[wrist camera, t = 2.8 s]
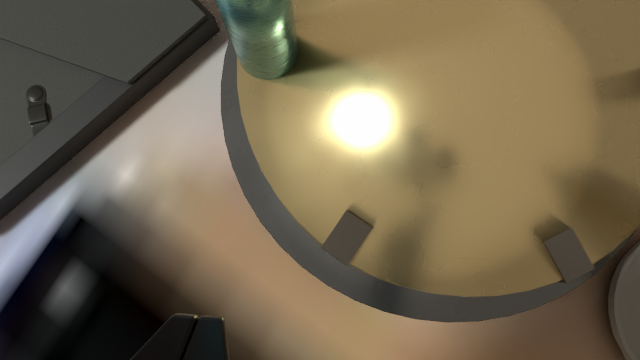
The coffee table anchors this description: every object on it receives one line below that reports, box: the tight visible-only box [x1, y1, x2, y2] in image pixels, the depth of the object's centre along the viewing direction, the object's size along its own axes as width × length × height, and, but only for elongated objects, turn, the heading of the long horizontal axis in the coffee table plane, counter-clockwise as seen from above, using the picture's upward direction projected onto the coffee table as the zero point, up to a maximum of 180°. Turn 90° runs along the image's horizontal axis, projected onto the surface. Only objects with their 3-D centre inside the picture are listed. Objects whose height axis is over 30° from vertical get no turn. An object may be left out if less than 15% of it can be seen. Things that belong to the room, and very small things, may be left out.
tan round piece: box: [215, 0, 640, 297], centre depth 15 cm, size 15×15×10 cm
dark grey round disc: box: [221, 39, 635, 322], centre depth 21 cm, size 17×18×3 cm
